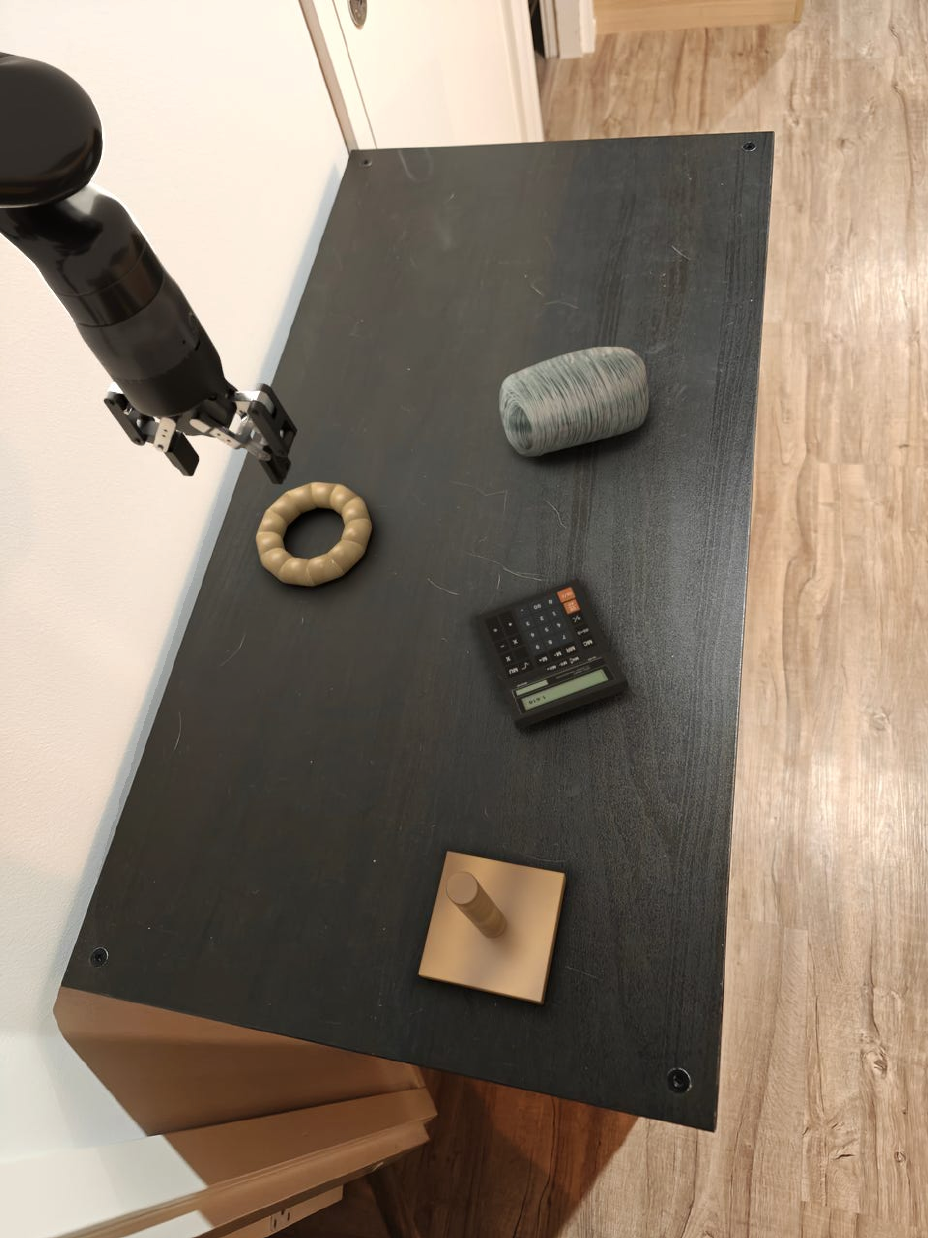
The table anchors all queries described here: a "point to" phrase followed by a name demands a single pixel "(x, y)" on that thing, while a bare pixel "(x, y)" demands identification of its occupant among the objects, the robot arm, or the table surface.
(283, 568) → the segmented beige ring
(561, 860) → the table surface
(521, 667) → the calculator
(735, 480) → the table surface
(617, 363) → the spool
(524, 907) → the wooden peg stand
